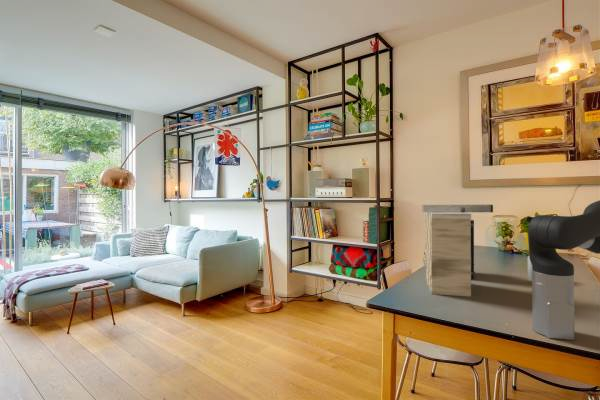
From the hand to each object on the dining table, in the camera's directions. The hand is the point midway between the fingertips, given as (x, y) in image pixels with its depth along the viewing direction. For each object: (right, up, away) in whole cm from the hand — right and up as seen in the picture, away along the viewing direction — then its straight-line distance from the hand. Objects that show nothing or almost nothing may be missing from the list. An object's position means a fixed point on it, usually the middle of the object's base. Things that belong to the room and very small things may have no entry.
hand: (532, 219), depth 124 cm
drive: (-27, +3, +6) cm, 28 cm away
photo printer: (+15, -29, +17) cm, 37 cm away
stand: (-30, -29, +8) cm, 43 cm away
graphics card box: (-15, -29, +30) cm, 44 cm away
